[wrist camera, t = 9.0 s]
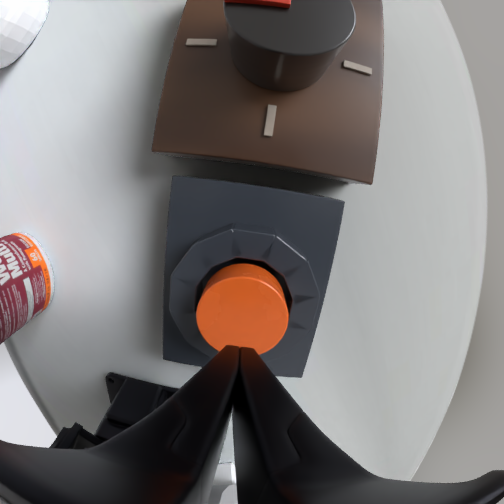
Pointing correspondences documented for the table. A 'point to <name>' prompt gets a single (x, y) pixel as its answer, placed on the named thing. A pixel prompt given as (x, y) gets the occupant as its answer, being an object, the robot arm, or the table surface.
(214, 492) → the alarm clock
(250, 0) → the knob
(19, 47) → the bottle
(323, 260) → the button box
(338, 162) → the panel
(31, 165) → the table surface
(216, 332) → the button
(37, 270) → the pill bottle
